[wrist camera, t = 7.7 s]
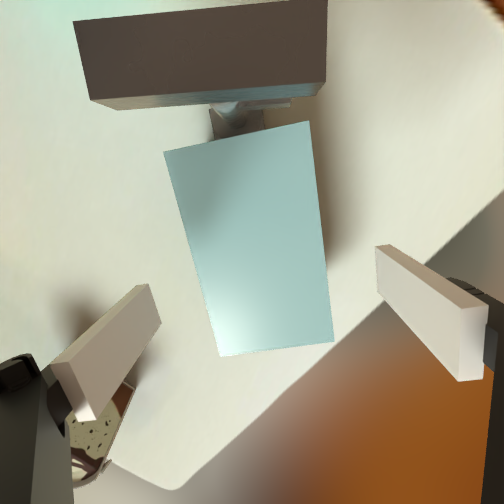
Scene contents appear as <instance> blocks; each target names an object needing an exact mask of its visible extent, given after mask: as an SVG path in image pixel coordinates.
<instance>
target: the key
mask: <svg viewBox="0 0 504 504" xmlns="http://www.w3.org/2000/svg"><path fill="white" fill-rule="evenodd" d="M327 7H328V0H289V1H279V2H268V3H258V4H248V5H237V6H227V7H216V8H206V9H195V10H185V11H175V12H164V13H154V14H143V15H133V16H122V17H112V18H101V19H91V20H81V21H73V25H74V30H75V34H76V39H77V43H78V48H79V52H80V57H81V61H82V66H83V70H84V75H85V79H86V84H87V88H88V93H89V97H90V100H91V101H94V102H96V103H99V104H102V105H104V106H107V107H110V108H112V109H115V110H129V109H142V108H156V107H169V106H182V105H196V104H210V106H211V107H212V108H213V109H214V110H215V111H216V112H217V113H218V115H219V116H220V117H221V118H222V119H223V120H224V121H225V122H226V124H227V125H228V126H229V127H231V128H233V129H239V128H242V127H243V126H244V125H245V124H246V122H247V120H248V112H247V110H261V109H275V108H288V107H290V105H291V97H302V96H315V95H316V94H317V93H318V91H319V90H320V89H321V87H322V86H323V85H324V83H325V82H326V45H327Z"/></svg>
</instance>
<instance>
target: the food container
mask: <svg viewBox="0 0 504 504" xmlns="http://www.w3.org/2000/svg"><path fill="white" fill-rule="evenodd" d="M135 390H136V389H135V388H133V387H132V386H130V385H129V384H127V383H126V382H125V381H122V383H121V384H120V386H119V387H118V389H117V390H116V392H115V393H114V395H113V396H112V398H111V399H110V401H109V402H108V404H107V405H106V407H105V408H104V410H103V411H102V413H101V414H100V415H99V417H98V418H97V420H91V421H82V422H78V420H77V418H76V416H75V414H74V412H73V410H72V411H71V412H70V414H69V415H68V416H67V417H66V421H67V423H68V425H69V431H70V447H71V464H72V480H73V489H77V488H80V487H84V486H86V485H88V484H91V483H92V482H94V481H95V480H96V479H97V477H98V476H100V475H101V474H102V473H103V472H104V470H105V469H106V468H107V466H108V465H109V464H110V462H111V461H112V460H111V459H110V460H109V461H107V462H106V463H104V462H105V460H106V457H107V455H108V453H109V450H110V448H111V446H112V444H113V441H114V439H115V437H116V434H117V432H118V430H119V427H120V425H121V423H122V420H123V418H124V416H125V413H126V411H127V409H128V406H129V404H130V402H131V400H132V397H133V395H134V393H135Z"/></svg>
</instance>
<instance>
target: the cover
mask: <svg viewBox="0 0 504 504" xmlns="http://www.w3.org/2000/svg"><path fill="white" fill-rule="evenodd" d="M163 153H164V157H165V160H166V164H167V167H168V171H169V175H170V178H171V182H172V185H173V189H174V193H175V196H176V200H177V203H178V207H179V210H180V214H181V218H182V221H183V225H184V228H185V232H186V235H187V239H188V243H189V246H190V250H191V253H192V257H193V261H194V264H195V268H196V271H197V275H198V278H199V282H200V286H201V289H202V293H203V296H204V300H205V303H206V307H207V311H208V314H209V318H210V321H211V325H212V329H213V332H214V336H215V339H216V343H217V346H218V350H219V354H220V357H222V356H229V355H237V354H244V353H252V352H259V351H267V350H274V349H282V348H289V347H297V346H304V345H312V344H319V343H327V342H334V332H333V324H332V315H331V306H330V298H329V289H328V280H327V272H326V263H325V254H324V246H323V237H322V228H321V220H320V211H319V202H318V193H317V185H316V176H315V167H314V159H313V150H312V141H311V133H310V124H309V120H308V121H303V122H299V123H294V124H289V125H285V126H280V127H276V128H271V129H266V130H262V131H257V132H253V133H248V134H243V135H239V136H234V137H230V138H225V139H220V140H216V141H211V142H207V143H202V144H197V145H193V146H188V147H184V148H179V149H174V150H170V151H165V152H163Z"/></svg>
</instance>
